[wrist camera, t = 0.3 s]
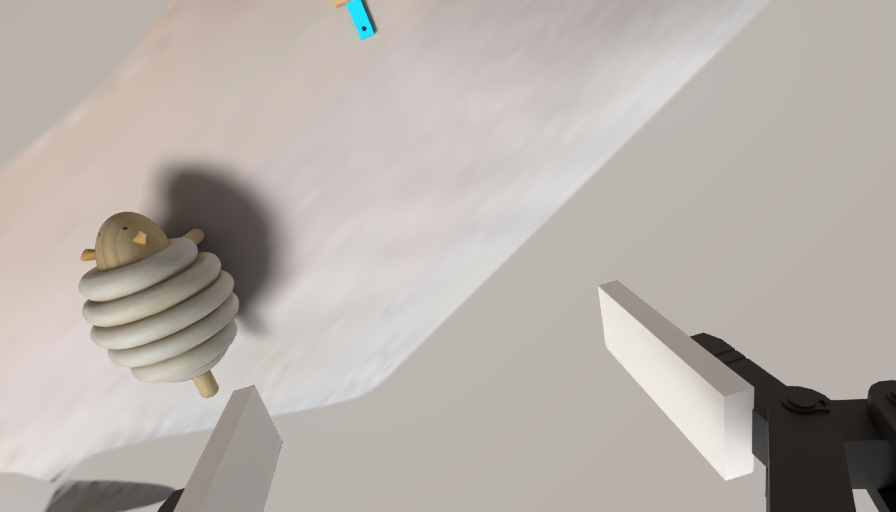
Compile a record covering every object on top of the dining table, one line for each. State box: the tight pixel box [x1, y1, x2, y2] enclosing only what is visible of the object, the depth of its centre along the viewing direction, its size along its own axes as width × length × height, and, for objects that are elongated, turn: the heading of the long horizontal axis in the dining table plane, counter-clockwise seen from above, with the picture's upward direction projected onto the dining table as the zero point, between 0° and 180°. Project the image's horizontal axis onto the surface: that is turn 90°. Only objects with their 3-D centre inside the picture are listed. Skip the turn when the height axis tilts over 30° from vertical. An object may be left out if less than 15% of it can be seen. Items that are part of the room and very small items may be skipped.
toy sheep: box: [79, 212, 239, 398], centre depth 37 cm, size 11×17×11 cm, turn 19°
